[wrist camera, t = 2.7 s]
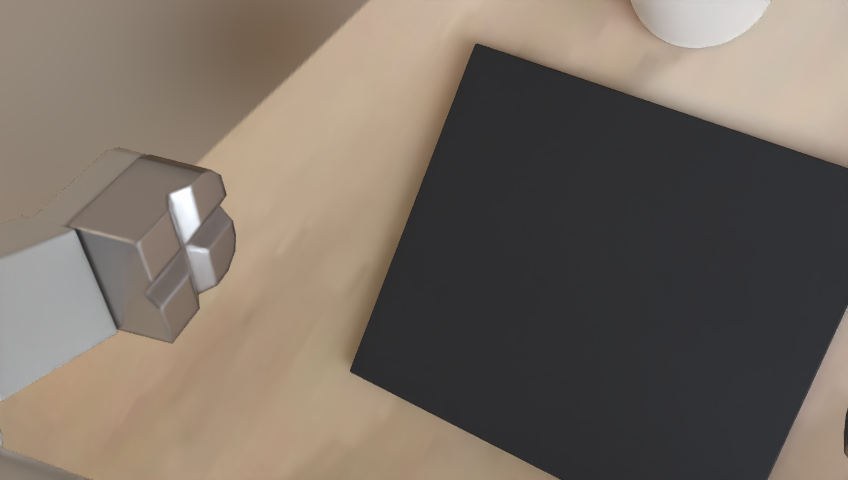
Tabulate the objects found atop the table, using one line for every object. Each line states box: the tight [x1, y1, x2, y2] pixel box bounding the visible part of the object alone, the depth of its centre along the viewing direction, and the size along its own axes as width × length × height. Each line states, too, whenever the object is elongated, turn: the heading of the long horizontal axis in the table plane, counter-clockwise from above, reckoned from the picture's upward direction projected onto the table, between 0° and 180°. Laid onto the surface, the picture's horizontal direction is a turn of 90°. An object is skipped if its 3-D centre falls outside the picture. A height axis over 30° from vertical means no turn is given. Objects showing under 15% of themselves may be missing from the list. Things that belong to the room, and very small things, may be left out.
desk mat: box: [350, 44, 848, 480], centre depth 38 cm, size 20×18×1 cm
